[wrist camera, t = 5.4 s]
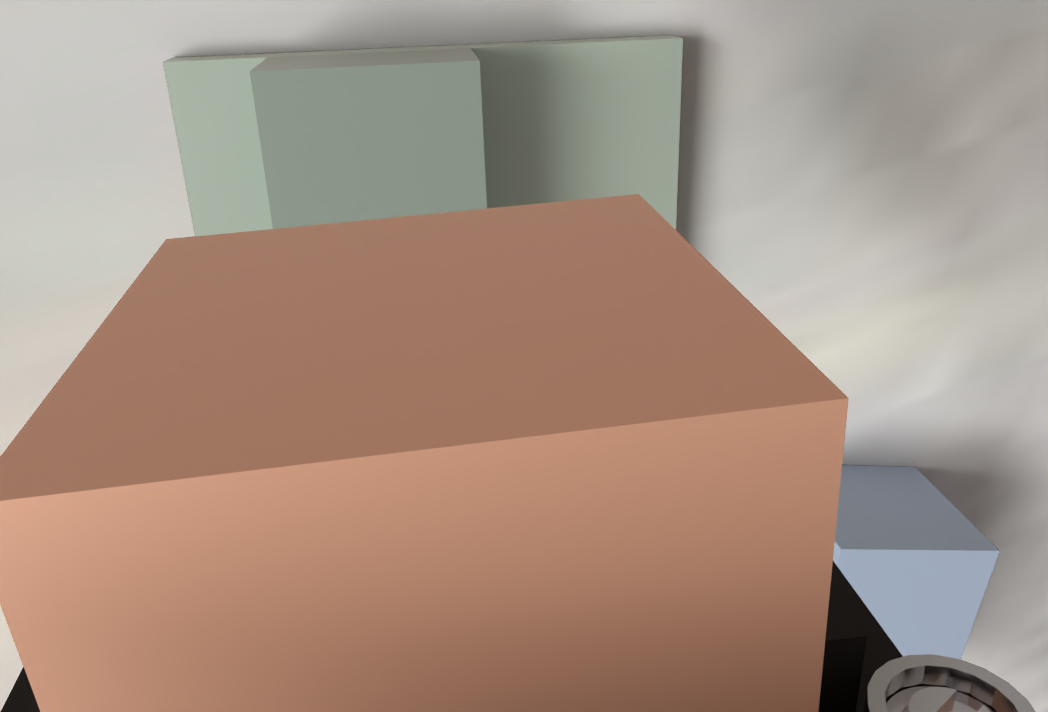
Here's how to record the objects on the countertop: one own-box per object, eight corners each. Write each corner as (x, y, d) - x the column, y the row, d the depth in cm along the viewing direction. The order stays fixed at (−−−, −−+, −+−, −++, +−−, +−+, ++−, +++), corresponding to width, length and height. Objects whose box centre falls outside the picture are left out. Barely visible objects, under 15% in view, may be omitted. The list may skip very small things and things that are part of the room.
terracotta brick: (638, 194, 10) (847, 398, 5) (644, 736, 13) (777, 1144, 9) (165, 239, 9) (-37, 506, 5) (294, 791, 13) (241, 1253, 8)
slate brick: (912, 464, 31) (999, 551, 27) (856, 649, 35) (925, 754, 30) (775, 461, 31) (841, 549, 26) (730, 649, 34) (782, 758, 29)
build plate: (672, 34, 25) (720, 49, 21) (656, 533, 31) (690, 610, 27) (172, 57, 23) (130, 77, 20) (265, 573, 30) (246, 659, 26)
